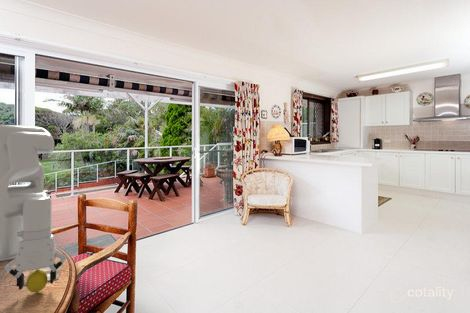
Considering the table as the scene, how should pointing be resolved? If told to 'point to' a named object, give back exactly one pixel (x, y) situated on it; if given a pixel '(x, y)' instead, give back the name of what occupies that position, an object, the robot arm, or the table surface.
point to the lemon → (37, 281)
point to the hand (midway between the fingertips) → (37, 284)
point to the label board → (48, 273)
